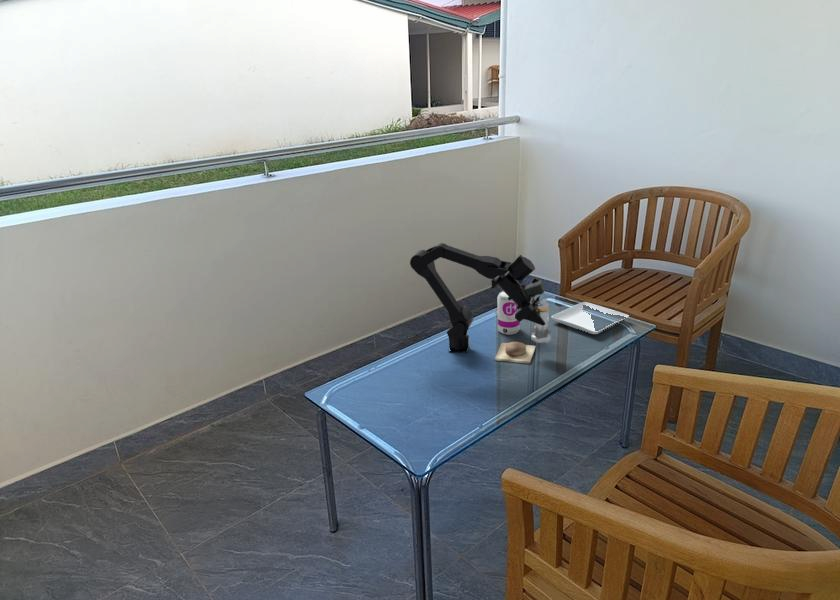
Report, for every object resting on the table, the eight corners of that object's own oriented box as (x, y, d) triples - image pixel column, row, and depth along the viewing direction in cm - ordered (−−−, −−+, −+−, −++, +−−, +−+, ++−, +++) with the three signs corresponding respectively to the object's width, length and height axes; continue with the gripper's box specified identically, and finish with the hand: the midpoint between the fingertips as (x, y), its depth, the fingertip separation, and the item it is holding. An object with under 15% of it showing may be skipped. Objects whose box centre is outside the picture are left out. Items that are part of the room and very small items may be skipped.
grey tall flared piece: (529, 342, 201) (530, 306, 196) (532, 334, 207) (533, 299, 202) (549, 344, 199) (550, 308, 194) (552, 335, 205) (553, 300, 200)
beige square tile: (494, 360, 205) (494, 352, 204) (502, 344, 216) (501, 337, 214) (530, 363, 201) (530, 355, 200) (535, 347, 212) (535, 340, 211)
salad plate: (583, 307, 242) (583, 300, 241) (630, 322, 227) (630, 314, 225) (549, 323, 230) (549, 315, 229) (596, 340, 215) (596, 332, 213)
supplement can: (521, 334, 222) (521, 297, 217) (498, 335, 223) (498, 298, 217) (518, 325, 230) (518, 289, 224) (496, 326, 230) (496, 290, 224)
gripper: (525, 283, 187) (560, 318, 188) (534, 264, 204) (566, 296, 204) (500, 304, 193) (534, 339, 194) (511, 284, 209) (542, 316, 210)
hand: (545, 321), depth 200 cm, fingers closed on grey tall flared piece, 4 cm apart
